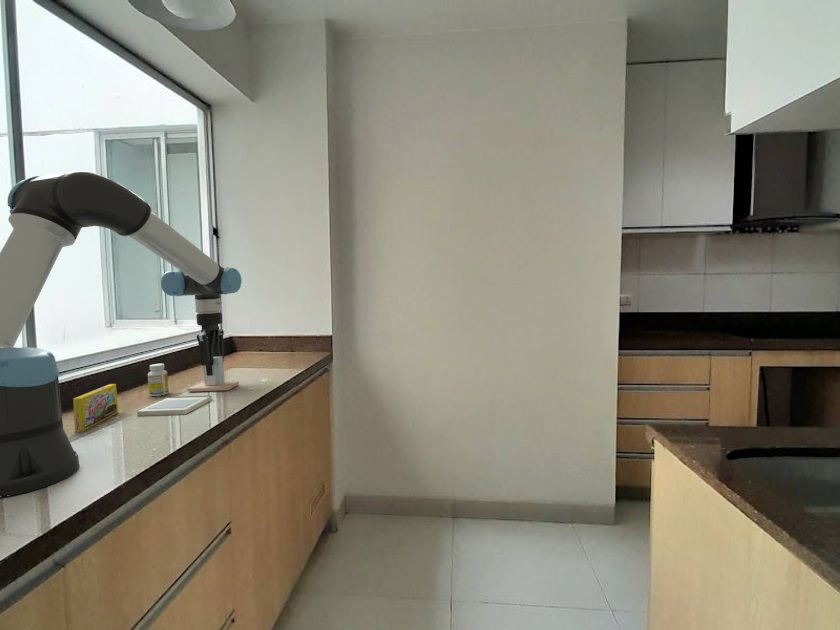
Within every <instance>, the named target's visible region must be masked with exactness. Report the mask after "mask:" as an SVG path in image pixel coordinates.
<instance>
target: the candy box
mask: <svg viewBox="0 0 840 630" xmlns="http://www.w3.org/2000/svg"><path fill="white" fill-rule="evenodd" d="M72 400H73V401H72V402H73V403H72V404H73V419H74V433H81V432H85V431H86V430H88V429H90V428H92V427H94V426H96V425H97V424H99V423H102V422H103V421H105V420H107V419H110V418H111V417H112V416H114V415H116V414H118V413H119V409H118V407H119V405H118V391H117V384H116V383H109V384H107V385H104V386H101V387H100V388H99V387H98V388H97V389H94V390H91V391H89V392H87V393H84V394H81V395H79V396H77V397H73V399H72Z"/></svg>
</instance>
